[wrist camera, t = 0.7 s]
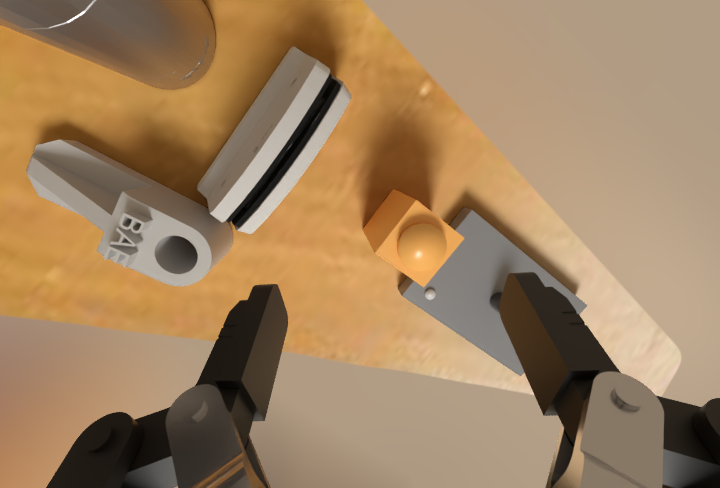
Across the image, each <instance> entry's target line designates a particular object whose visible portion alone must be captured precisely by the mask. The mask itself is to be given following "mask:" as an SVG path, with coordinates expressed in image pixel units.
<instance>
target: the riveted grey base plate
mask: <svg viewBox="0 0 720 488" xmlns="http://www.w3.org/2000/svg"><path fill="white" fill-rule="evenodd" d="M449 226H450V227H451V228H453V229H454V230H455V231H456V232H458V233H459V234H460V235H461V236H463V237H464V238H465V239H464V240H463V241H462V242H461V243H460V245H459V246H458V247H457V248H456V250H455V251H454V252H453V253H452V254H451V256H450V257H449V258H448V259H447V260H446V262H445V263H444V264H443V265H442V266H441V268H440V269H439V270H438V271H437V272H436V274H435V275H434V276H433V277H432V278H431V280H430V281H429V282H428V283H427V285H426V286H425V287H422V286H421V285H419V284H418V283H417V282H415V281H414V280H412V279H411V278H409V277H407V278H406V279H405V280H404V281H403V283H402V284H401V285H400V286H399V288H398V290H399V291H400V293H401V295H402V296H403V297H405V298H406V299H408V300H409V301H410V302H412V303H413V304H415V305H416V306H418V307H419V308H421V309H422V310H424V311H425V312H427V313H428V314H430V315H431V316H433V317H434V318H435V319H437V320H438V321H440V322H441V323H443V324H444V325H446V326H447V327H449V328H450V329H452V330H453V331H455V332H456V333H458V334H459V335H461V336H462V337H463V338H465V339H466V340H468V341H469V342H471V343H472V344H474V345H475V346H477V347H478V348H480V349H481V350H483V351H484V352H486V353H487V354H488V355H490V356H491V357H493V358H494V359H496V360H497V361H499V362H500V363H502V364H503V365H505V366H506V367H508V368H509V369H511V370H512V371H514V372H515V373H516V374H518V375H519V376H521V375H522V374H523V373H524V370H523V368H522V365H521V363H520V361H519V359H518V356H517V354H516V352H515V350H514V347H513V345H512V343H511V341H510V338H509V336H508V334H507V332H506V329H505V327H504V325H503V323H502V320H501V317H500V309H499V307H500V301H501V297H502V294H503V290H504V286H505V283H506V279H507V276H508V274H509V273H521V272H534V273H536V274H537V275H538V277H539V278H540V280H541V281H542V283H543V284H544V286H545V287H553V288H555V289H556V290H557V291H559V292H560V293H561V294H563V295H564V296H565V297H567V298H568V300H569V301H570V303H571V304H572V306H573V307H574V308H575V310H576V311H577V312H576V313H577V314H580V313H581V312H582V311H583V310H584V309H585V308H586V307H587V305H586V304H585V303H584V302H583V301H581V300H580V299H579V298H578V297H577V296H575V295H574V294H573V293H572V292H571V291H569V290H568V289H567V288H566V287H565V286H563V285H562V284H561V283H560V282H559V281H557V280H556V279H555V278H554V277H552V276H551V275H550V274H549V273H548V272H546V271H545V270H544V269H543V268H542V267H540V266H539V265H538V264H537V263H536V262H534V261H533V260H532V259H531V258H530V257H528V256H527V255H526V254H525V253H524V252H522V251H521V250H520V249H519V248H518V247H516V246H515V245H514V244H513V243H512V242H510V241H509V240H508V239H507V238H506V237H504V236H503V235H502V234H501V233H500V232H498V231H497V230H496V229H495V228H494V227H492V226H491V225H490V224H489V223H488V222H486V221H485V220H484V219H483V218H482V217H480V216H479V215H478V214H477V213H476V212H474V211H473V210H472V209H469V208H466V207H464V208H463V209H462V210H461V211H460V212H459V214H458V215H457V216H456V217H455V219H454V220H453V221H452V222H451V224H450V225H449Z"/></svg>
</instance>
